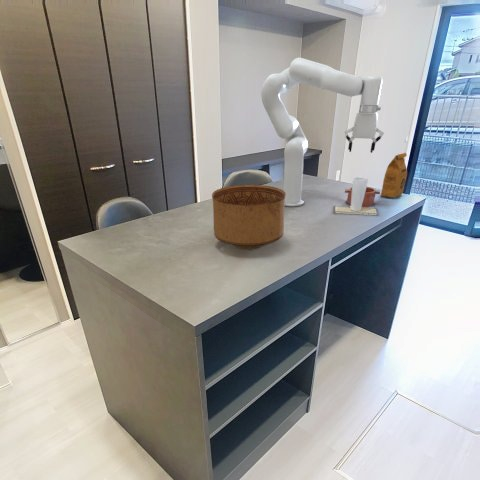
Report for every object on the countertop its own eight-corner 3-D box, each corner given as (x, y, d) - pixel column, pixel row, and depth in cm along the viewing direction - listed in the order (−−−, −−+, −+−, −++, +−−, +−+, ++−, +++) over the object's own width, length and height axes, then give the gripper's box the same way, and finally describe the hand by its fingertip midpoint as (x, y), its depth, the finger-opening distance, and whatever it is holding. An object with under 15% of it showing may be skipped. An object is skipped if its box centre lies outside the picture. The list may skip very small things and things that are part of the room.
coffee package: (405, 195, 200) (415, 153, 187) (393, 200, 193) (403, 156, 181) (389, 192, 206) (398, 151, 193) (377, 196, 199) (386, 154, 187)
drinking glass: (346, 208, 180) (351, 177, 172) (359, 207, 181) (364, 176, 172) (351, 212, 175) (356, 180, 166) (364, 211, 175) (370, 180, 167)
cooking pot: (343, 205, 185) (345, 192, 181) (342, 198, 196) (344, 185, 192) (378, 207, 182) (381, 193, 178) (376, 200, 193) (378, 187, 189)
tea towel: (335, 213, 175) (335, 212, 175) (335, 206, 185) (335, 205, 185) (377, 215, 171) (377, 214, 171) (375, 208, 181) (375, 207, 181)
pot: (217, 232, 155) (215, 185, 144) (280, 232, 154) (283, 184, 143) (211, 258, 132) (208, 204, 121) (285, 258, 131) (288, 203, 120)
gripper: (387, 109, 158) (379, 151, 168) (347, 108, 161) (341, 149, 171) (389, 110, 152) (380, 153, 162) (347, 110, 155) (341, 152, 165)
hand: (360, 151), depth 166 cm, fingers open, 9 cm apart
